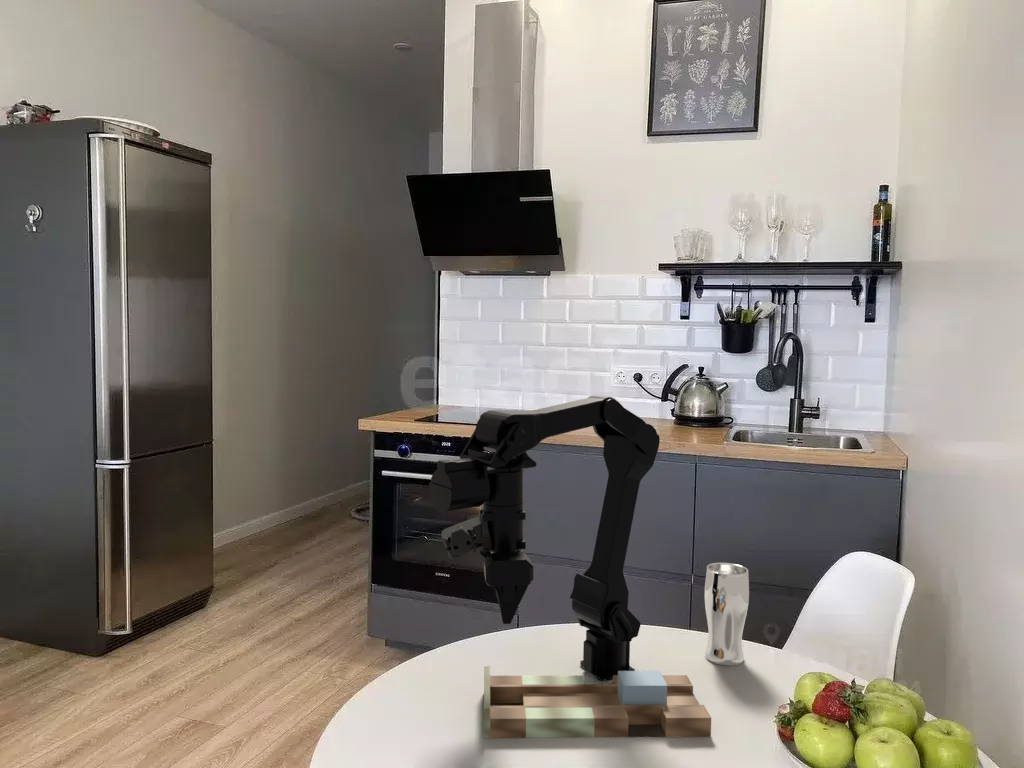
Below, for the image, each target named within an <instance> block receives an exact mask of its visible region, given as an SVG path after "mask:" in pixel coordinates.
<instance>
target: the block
mask: <svg viewBox="0 0 1024 768" xmlns="http://www.w3.org/2000/svg"><path fill="white" fill-rule="evenodd" d="M662 675H663V674H662V673H661V671H660V670H635V671H618V688H617V695H618V698H619V701H620V704H621V705H667V684H666V682H665V680H664V678H663V676H662Z"/></svg>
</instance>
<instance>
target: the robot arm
mask: <svg viewBox="0 0 1024 768" xmlns="http://www.w3.org/2000/svg"><path fill="white" fill-rule="evenodd" d="M590 427H591V428H593V432H594V433H595V435H597V436H598V437H599V439H600V440H602V441H603V453H602V456H603V460H604V462H605V466H606V469H607V470H606V471H607V474H608V477H607V483H606V488H605V491H604V497H603V504H602V508H601V514H600V518H599V522H598V528H597V533H596V534H597V535H596V539H595V544H594V549H593V550H594V551H593V555H592V558H591V559H592V560H591V564H590V565H589V566H588V568H587V569H586V570H585V571H584V572H583V573H579V572H578V573H576V574H575V576H574V577H573V578H574V579H573V588H572V591H571V594H570V596H569V599H571V600H572V601H571V609H572V611H573V613H574V614H575V616H576V617H577V620H578V624H579V627H580V626H581V627H583V628H584V627H585V629H586V630H585V640H584V641H583V649H582V650H583V653H582V654H583V655H582V656H583V657H582V659H581V660H580V662H579V663H580V664H579V665H580V666H581V667H583V668H584V669H585V670H586V671H588V672H589V673H590V674H591V675H593V676H594V677H596V678H597V679H598V681H604V680H609V679H613V675H618V671H636V669H635V668H633V667H632V666H631V665H630V655H631V654H630V653H631V652H630V651H631V650H630V649H631V648H630V647H631V642H632V641H633V638H636V637H638V636H639V632H640V628H641V623H642V622H641V621H639V619H637V618H636V617H637V616H635V615H634V614H633V613H632V612H631V611H630V610H629V609H628V607H629V606H628V605H629V596H630V595H629V589H628V586H627V582H626V579H625V576H624V566H625V561H626V556H627V552H628V546H629V540H630V536H631V530H632V525H633V521H634V515H635V509H636V503H637V499H638V494H639V487H640V484H641V481H642V480H643V478H644V477H645V476H646V475H647V474H648V473H649V472H650V471H651V469H652V467H653V466H654V462H656V461H655V460H656V457H657V454H658V451H659V448H660V435H659V434H658V432H657V430H656V428H655V427H654V425H651V424H649V423H647V422H646V421H644V420H643V419H642V418H641V417H639V416H638V415H636V414H634V413H633V412H631V410H628V409H627V408H625V407H624V406H623V405H622V404H621V403H620V402H619V401H618V400H616V399H615V397H612V396H604V395H596V394H595V395H590V396H588V397H586V398H583V399H577V400H573V401H569V402H568V401H567V402H564V403H561V404H556V405H551V406H546V407H541V408H537V409H534V410H512V409H511V410H510V409H509V410H508V409H505V410H504V409H495V410H492V409H491V410H487V411H485V412H483V413H481V414H480V416H479V419H478V420H477V422H476V426H475V429H474V431H473V433H472V434H471V436H470V437H469V440H468V441H467V443H466V445H465V446H464V448H463V449H462V451H461V453H460V454H459V459H450V460H449V459H441V460H439V459H438V461H437V464H436V465H437V466H436V467H437V469H436V470H435V471H434V472H433V473H432V475H431V479H430V482H429V483H428V492H429V497H430V502H431V503H432V505H433V508H434V509H435V511H437V512H438V513H440V514H445V513H451V512H456V511H462V510H467V509H474V508H477V507H478V511H479V513H478V515H479V516H477V517H474V518H470V519H466V520H464V521H462V522H459V523H457V524H454V525H452V526H449V527H446V528H445V529H443V530H442V531H441V539H442V541H443V544H444V547H445V550H446V552H447V554H448V557H449V559H450V560H455V559H458V558H460V556H462V555H464V554H467V553H469V552H472V551H474V550H477V549H478V550H479V551H478V552H479V554H480V555H481V557H483V558H484V559H483V572H484V573H483V575H484V581H485V583H486V585H487V586H489V587H491V588H492V589H493V590H494V591H495V596H496V599H497V600H498V606H499V611H500V616H501V621H502V624H503V625H510V624H512V621H513V619H514V617H515V615H516V614H517V613H516V612H517V611H518V609H519V606H520V604H521V602H522V600H523V598H524V595H525V594H526V591H527V589H528V587H529V585H531V583H532V582H533V581H534V565H533V562H532V560H531V558H530V557H529V556H528V555H527V554H526V553H525V552H524V551H521V550H526V547H527V544H526V540H525V537H524V535H525V534H524V533H525V532H524V529H525V528H524V526H525V525H524V524H525V523H524V521H525V520H526V511H525V508H524V507H525V506H524V505H525V503H524V470H525V469H532V468H535V467H537V462H536V461H535V460H534V459H532V458H531V457H530V456H529V455H528V453H527V452H529V451H531V450H533V449H535V448H537V446H538V445H539V444H540V443H541V442H542V441H544V440H545V439H548V438H550V437H555V436H559V435H562V434H567V433H571V432H576V431H580V430H583V429H586V428H587V429H588V428H590ZM488 451H489V452H488ZM491 452H492V453H491Z"/></svg>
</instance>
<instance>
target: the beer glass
mask: <svg viewBox="0 0 1024 768" xmlns="http://www.w3.org/2000/svg"><path fill="white" fill-rule="evenodd" d="M749 585H750V579H749V568H747V567H745V566H743V565H741V564H737V563H731V562H713V563H709V564H708V565H706V574H705V582H704V608H705V615H706V621H707V622H706V623H707V627H708V635H707V636H708V638H707V639H708V640H707V645H706V648H705V652H704V653H705V658H706V659H707V660H708V661H709V662H711V663H713V664H717V665H720V666H727V667H731V666H739V665H741V664H742V663H743V662H744V651H743V640H742V639H743V632H744V627H745V622H746V618H747V613H748V608H749V602H750V600H749V599H750V586H749Z"/></svg>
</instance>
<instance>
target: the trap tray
mask: <svg viewBox="0 0 1024 768" xmlns="http://www.w3.org/2000/svg"><path fill="white" fill-rule="evenodd" d="M483 670H484V671H483V674H484V675H483V676H484V677H483V685H484V686H483V739H519V738H520V739H521V738H522V739H529V738H531V739H533V738H537V739H539V738H545V739H548V738H550V739H551V738H552V739H553V738H555V739H556V738H562V739H563V738H681V737H682V738H691V737H692V738H694V737H695V738H697V737H698V738H700V737H701V738H702V737H703V738H708V737H709V738H710V737H711V735H712V717H711V715H710V713H709V711H708V710H707V708H706V706H705V704H700V703H699V701H698V699H697V697H696V695H695V694H694V685H693V683H692V682H691V680H690V678H689V677H688V675H687V674H674V675H673V674H665V675H663V674H662V676H663V678H664V680H665V682H666V684H667V705H621V704H620V701H619V698H618V695H617V688H618V675H613V678H612V684H609V683H608V684H606V683H605V684H603V683H602V684H601V683H600V684H597V683H596V684H590V683H589V684H586V683H585V679H584V676H583V674H582V675H581V674H579V675H575V674H574V675H567V674H566V675H562V674H561V675H491V672H490V671H491V667H490V666H489V665H486V666H484V667H483Z"/></svg>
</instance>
